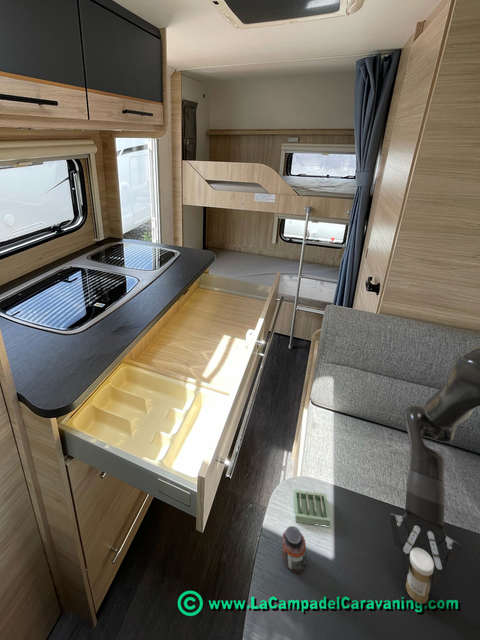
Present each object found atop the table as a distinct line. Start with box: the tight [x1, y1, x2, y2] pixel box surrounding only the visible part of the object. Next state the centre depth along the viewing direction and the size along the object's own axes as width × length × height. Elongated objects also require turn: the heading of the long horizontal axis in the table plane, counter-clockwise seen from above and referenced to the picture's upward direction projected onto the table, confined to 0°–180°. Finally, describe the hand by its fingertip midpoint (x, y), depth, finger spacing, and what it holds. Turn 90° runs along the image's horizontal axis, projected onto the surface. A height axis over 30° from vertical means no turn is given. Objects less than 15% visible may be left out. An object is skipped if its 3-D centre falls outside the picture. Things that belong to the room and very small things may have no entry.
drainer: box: [293, 489, 331, 528], centre depth 98 cm, size 10×8×3 cm
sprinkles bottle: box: [405, 547, 434, 604], centre depth 76 cm, size 5×5×13 cm
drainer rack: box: [299, 489, 324, 517], centre depth 98 cm, size 6×5×4 cm
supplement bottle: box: [281, 525, 307, 573], centre depth 86 cm, size 6×6×11 cm
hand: (420, 578), depth 74 cm, fingers closed on sprinkles bottle, 4 cm apart
